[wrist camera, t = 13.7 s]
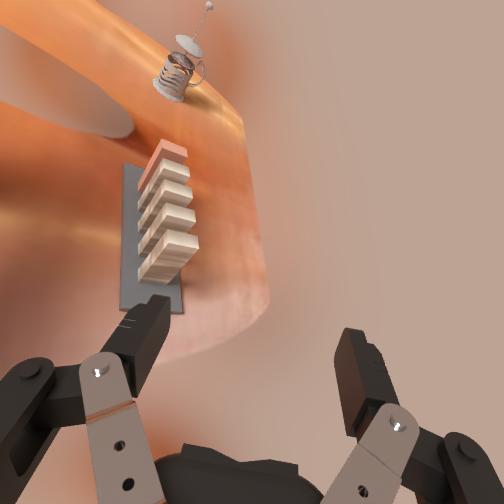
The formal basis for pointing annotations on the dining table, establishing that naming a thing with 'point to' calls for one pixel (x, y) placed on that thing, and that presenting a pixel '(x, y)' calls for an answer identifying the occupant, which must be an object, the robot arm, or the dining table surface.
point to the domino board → (130, 260)
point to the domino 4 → (168, 257)
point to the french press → (173, 86)
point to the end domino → (162, 151)
